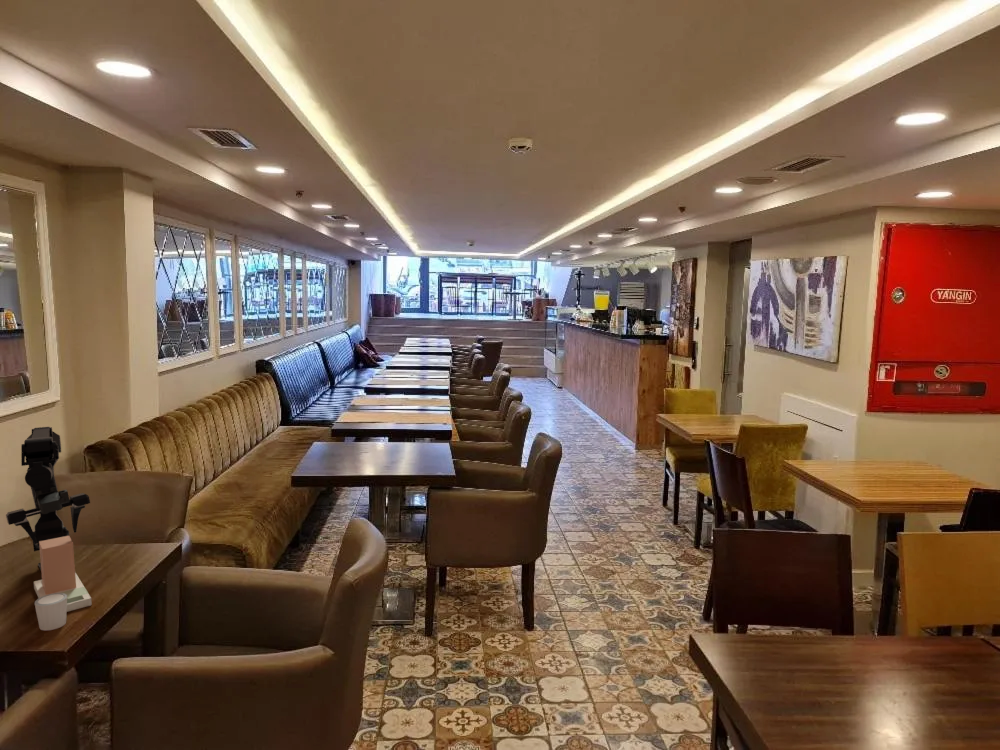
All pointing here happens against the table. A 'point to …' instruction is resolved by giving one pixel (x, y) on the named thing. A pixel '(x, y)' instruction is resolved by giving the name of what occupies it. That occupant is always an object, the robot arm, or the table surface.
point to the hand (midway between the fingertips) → (55, 538)
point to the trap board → (69, 594)
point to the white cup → (51, 611)
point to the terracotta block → (57, 564)
